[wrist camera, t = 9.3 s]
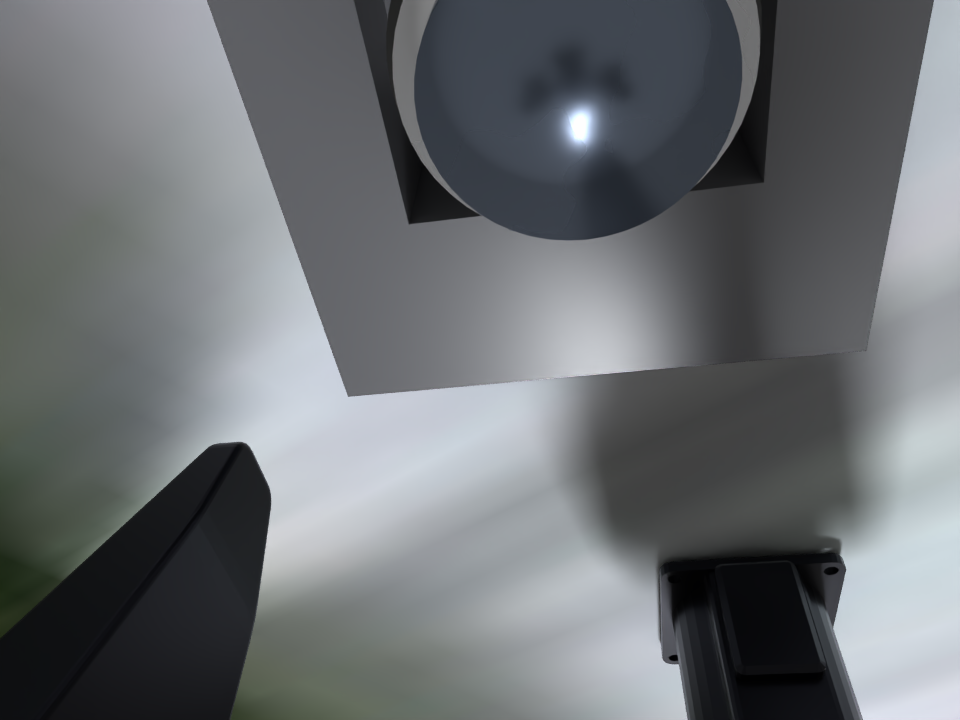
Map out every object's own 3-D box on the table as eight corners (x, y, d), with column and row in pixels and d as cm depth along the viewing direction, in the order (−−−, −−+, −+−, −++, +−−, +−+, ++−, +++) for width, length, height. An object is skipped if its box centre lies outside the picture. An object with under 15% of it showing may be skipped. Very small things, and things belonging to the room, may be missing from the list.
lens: (704, 104, 17) (771, 254, 12) (444, 136, 18) (414, 289, 13) (714, -220, 13) (813, -183, 9) (389, -163, 14) (320, -100, 9)
